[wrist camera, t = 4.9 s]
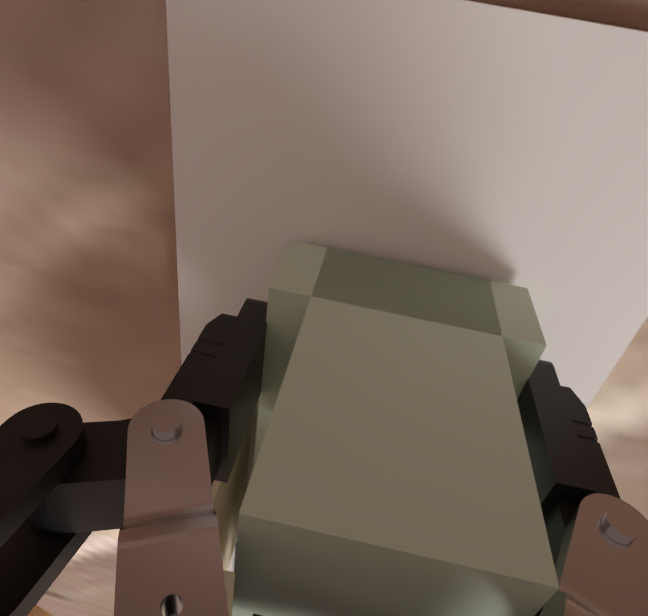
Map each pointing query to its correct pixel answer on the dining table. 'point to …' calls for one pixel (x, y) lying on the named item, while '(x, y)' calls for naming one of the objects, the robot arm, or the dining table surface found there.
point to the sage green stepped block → (392, 446)
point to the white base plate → (411, 163)
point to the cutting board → (38, 612)
